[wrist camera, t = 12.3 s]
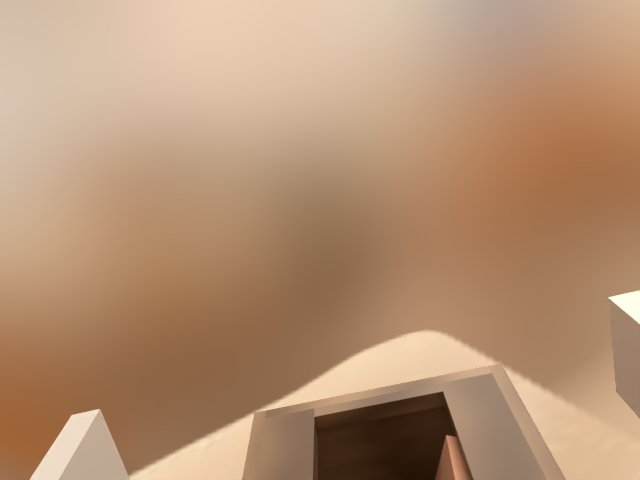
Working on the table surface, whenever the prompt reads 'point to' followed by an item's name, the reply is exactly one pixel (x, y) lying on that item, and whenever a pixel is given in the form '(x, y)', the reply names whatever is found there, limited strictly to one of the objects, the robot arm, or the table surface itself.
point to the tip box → (403, 433)
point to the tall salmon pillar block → (452, 462)
